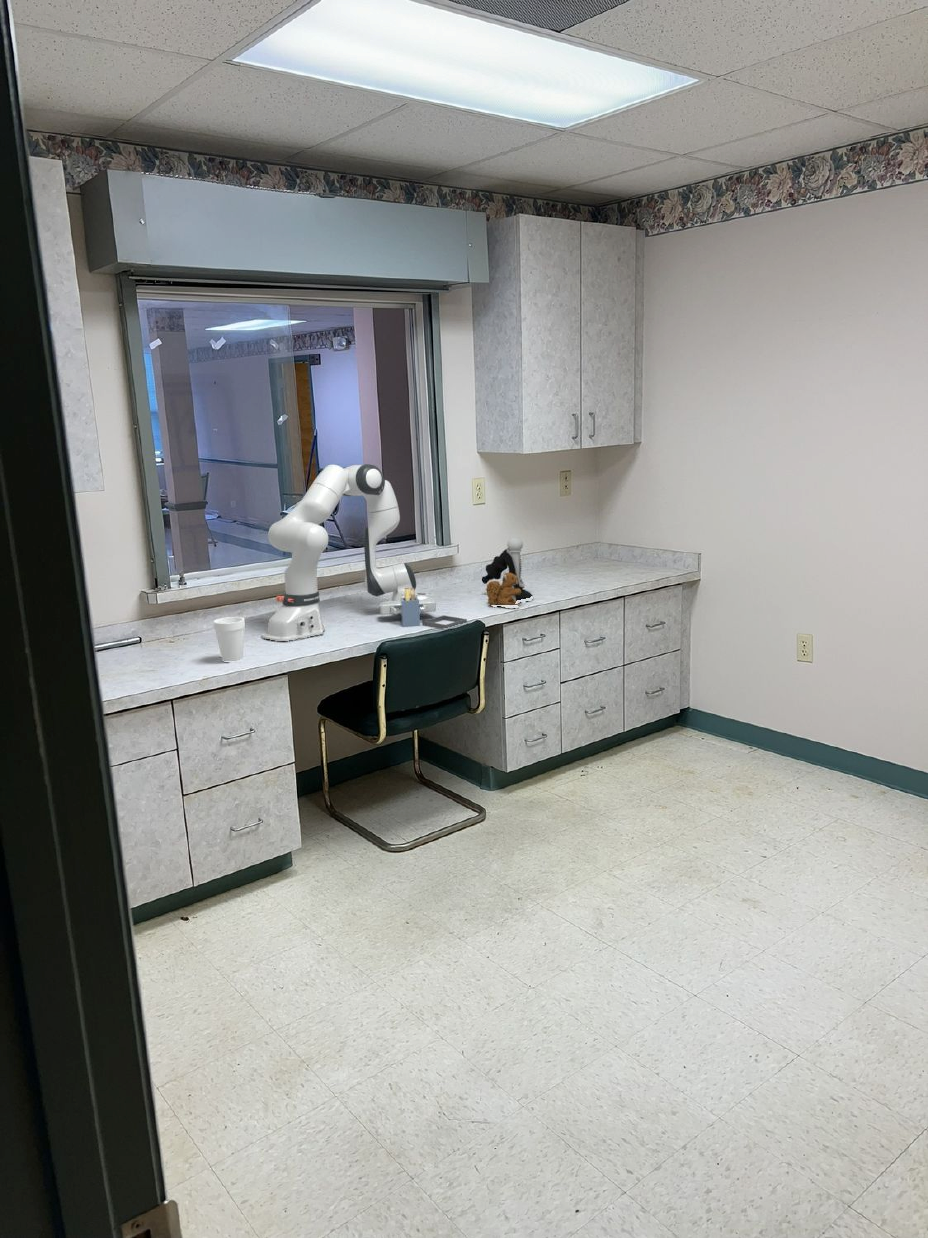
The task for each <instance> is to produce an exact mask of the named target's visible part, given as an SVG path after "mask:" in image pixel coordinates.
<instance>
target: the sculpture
mask: <svg viewBox="0 0 928 1238" xmlns="http://www.w3.org/2000/svg"><path fill="white" fill-rule="evenodd" d="M506 545H507V546H506V548H505V549H504V550H503V551H502V552H501V553H500V554H499V555H497V556H496V555H495V557H494V558H493V560H492V562H491V563H490V564H486V565H485V571H486V573H487V574H486V575H485V576H484V575H483V576H481V577H482V578H481V582H482V583H483V584H484V585H487V584H488V583H489V582H490V581H492V580H500V579H501V578H502V573H503V572H504V571H505V570H507V569H508V573H513V574H514V575H516V576H517V577H518V582H517V583H518V585H517V584H515V585H513V586H514V588H517V589H520V590H521V594H520V595H515V597H516V600H521V599H526V598H530V597H531V596H534V595H533V594H532V593H531V592H530V591H528V590H527V589H524V588H525V586H526V584H525V582H524V581H523V578H522V569H523V568H522V567H523V565H522V564H523V563H522V557H521V552H522V549H523V546H524V543H523V540H522V539H520V538H519V537H512V538H510V539H508V541H507V544H506Z"/></svg>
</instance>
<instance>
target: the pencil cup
mask: <svg viewBox="0 0 928 1238" xmlns="http://www.w3.org/2000/svg"><path fill="white" fill-rule="evenodd" d="M400 599H401V614H400V618H401V625H402V627H403V628H409V627H421V619H420V618H421V615H420V613H421V612H419V599H418V598H417V597H415V600H411V598H410V601H405V598H400Z"/></svg>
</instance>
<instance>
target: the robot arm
mask: <svg viewBox="0 0 928 1238" xmlns="http://www.w3.org/2000/svg"><path fill="white" fill-rule="evenodd" d="M395 494H396V493H395V491H394V489H393V487H392V483H391V482H390V481H389V480H386V479H385V477H384V475H383V472H382V471H381V470H380V469H379V467H378V466H377V465H374V464H370V463H369V464H368V463H367V464H366V463H365V464H354V465H353V464H352V465H350V466H344V467H342V466H340V465H339V464H338V465H337V464H329V465H326V466H325V467H324V468H323V470H321V471H320V472H319V474H318V475H317V476H316V478H315V479H314V481H313V482H312V484H311V485H310V487H309V488H308V490H307V491H306V493H305V494H304V495H303V497H302V499H301V500H300V501H299V503H298V504H296V506H295V507H294V508H293V509H292V510H291V511H290V512H289V513H288V514H287V515H285V516H284V517H283V518H281V519H280V520H278V521H276V522H274V523H273V524H272V525H271V526H269V530H268V532H267V538H268V541H269V544H270V545H271V546H272V547H274V548H275V549H277V550H279V551H281V552H286V553H291V560H290V563H289V565H288V566H287V567H286V568H285V570H284V587H285V593H284V596H283V595H282V596H281V595H277V596H276V600H277V602H280V603H282V604H281V606H280V607H279V608H278V609H277V611H275V613H273V615H272V616H271V617H270V618H269V620H268V621H267V622H268V624H267V631H266V632H264V633H262V634H261V638H262V639H264V638H267V639H270V640H269V641H271V640H275V641H274V642H277V641H288V642H290V641H289V640H293V639H298V638H304V639H308V638H307V637H309V638H311V637H310V636H314V635H319V634H323V635H324V633H325V631H326V627H325V625H324V622H323V619H322V614H321V609H320V599H321V598H320V592H319V591H320V590H319V589H318V565H319V561H320V558H321V555H322V554H323V552H324V551H325V550H326V548H327V547H328V545H329V534H328V532H327V529H326V528H325V527H323V526H321V525H320V524H322V523H324V522H326V521H327V520H328V519H329V518H330V517H331V515H332V513H333V512H334V510H335V508H336V507H337V506H338V504H339V502H340V500H341V499H342V498H343V497H342V496H346V497H354V496H355V497H360V496H362V497H363V498H364V499H365V501H366V504H367V510H368V514H369V515H368V516H369V521H368V524H367V526H366V527H365V528H364V532H363V548H364V549H363V550H364V564H365V576H364V586H365V589H366V591H367V593H368V594H370V595H372V596H374V597H377V598H378V597H380V596H384V595H385V594H389V593H392V595H391V597H392V598H391V600H385V601H382V602H381V603H379V604H378V609H379V611H380V615H401V599H400V598H405V588H409V596H410V598H411V593H410V588H415V590H416V589H417V580H416V575H415V573H414V571H413V569H412V567H411V566H410V565H409V564H408V563H405V562H402V563H397V564H393V565H389V566H385V567H380V568H377V564H376V563H377V562H376V560H377V559H376V546H377V544H378V542H380V541H381V540H382V539H383V538H385V537H386V536H387V535H389V534H390V533H393V531H394V530H395V529H397V527H398V526H399V523H400V520H401V515H400V509H399V504H398V500H397V497H396V495H395ZM415 597H417V598H418V599H419V612H420V613H421V614H422V613H430V612H431V613H432V612H436V611H437V602H436V599H434V598H433V597H431V596H430V594H429V593H421V592H420V593H419V592H415ZM324 630H325V631H324ZM323 631H324V632H323ZM319 636H320V635H319ZM314 637H315V636H314ZM298 640H299V639H298ZM293 641H294V640H293Z"/></svg>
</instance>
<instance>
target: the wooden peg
mask: <svg viewBox="0 0 928 1238" xmlns="http://www.w3.org/2000/svg"><path fill="white" fill-rule="evenodd" d="M415 591H416V589H415V588H410V593H411V600H415V593H416V592H415Z"/></svg>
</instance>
